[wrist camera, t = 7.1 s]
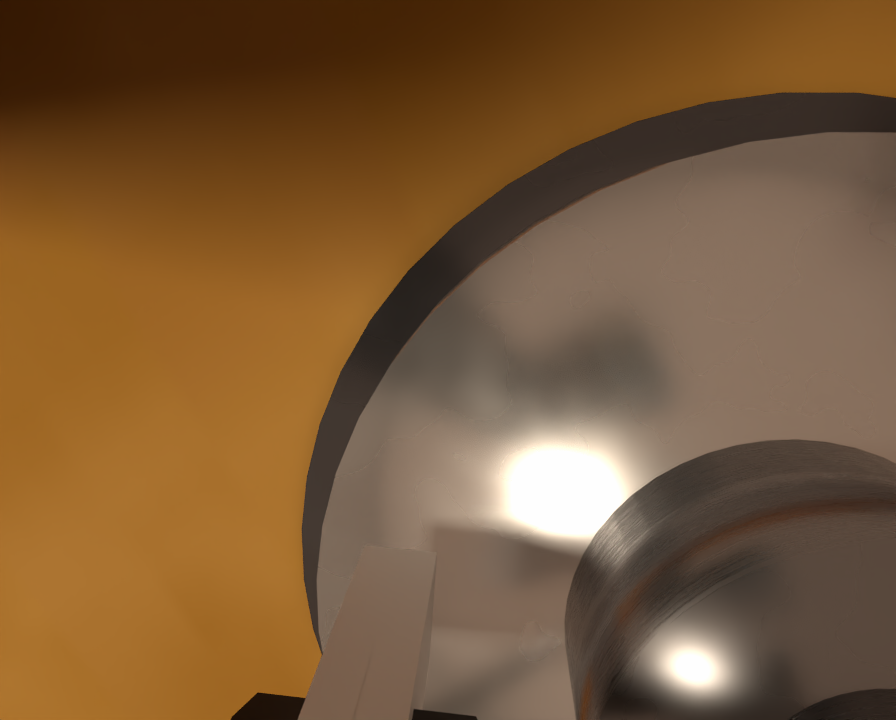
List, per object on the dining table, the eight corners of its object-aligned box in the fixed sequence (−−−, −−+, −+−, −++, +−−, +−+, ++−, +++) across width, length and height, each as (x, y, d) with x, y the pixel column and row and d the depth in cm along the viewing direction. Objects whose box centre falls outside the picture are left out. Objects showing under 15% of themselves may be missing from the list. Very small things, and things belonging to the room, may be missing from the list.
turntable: (323, 855, 19) (248, 1130, 13) (353, 105, 14) (251, 37, 8) (1064, 964, 18) (1328, 1319, 12) (1403, 182, 12) (2140, 165, 7)
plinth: (297, 853, 20) (293, 866, 20) (319, 59, 14) (313, 55, 14) (1069, 966, 19) (1081, 983, 18) (1431, 137, 13) (1460, 134, 12)
